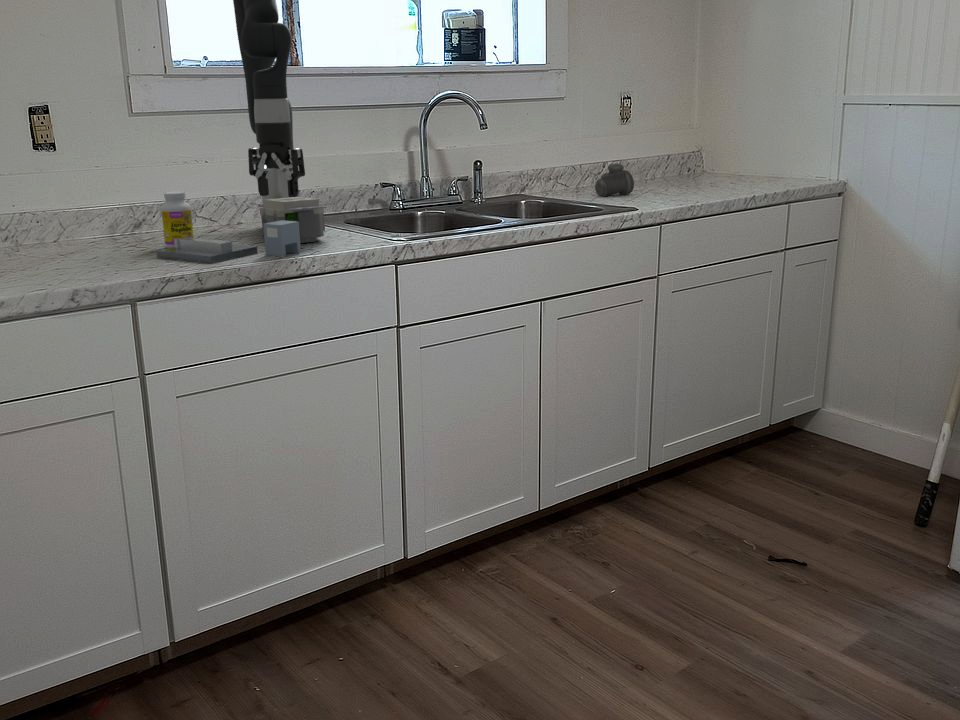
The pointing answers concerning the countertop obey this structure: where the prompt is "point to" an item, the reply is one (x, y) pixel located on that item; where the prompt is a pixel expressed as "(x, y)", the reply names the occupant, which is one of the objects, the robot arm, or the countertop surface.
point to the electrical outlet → (296, 215)
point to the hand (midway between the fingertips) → (278, 196)
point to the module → (282, 237)
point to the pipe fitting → (615, 182)
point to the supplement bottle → (176, 218)
